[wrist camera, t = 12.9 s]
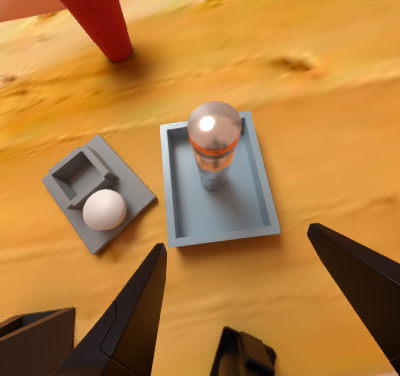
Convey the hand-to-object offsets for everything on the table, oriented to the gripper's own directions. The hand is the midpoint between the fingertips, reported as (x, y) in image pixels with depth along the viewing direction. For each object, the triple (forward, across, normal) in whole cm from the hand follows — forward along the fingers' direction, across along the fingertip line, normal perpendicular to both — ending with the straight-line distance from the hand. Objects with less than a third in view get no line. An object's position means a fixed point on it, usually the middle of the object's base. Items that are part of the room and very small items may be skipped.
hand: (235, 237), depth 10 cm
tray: (+15, 0, +4) cm, 16 cm away
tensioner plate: (+16, +19, +3) cm, 25 cm away
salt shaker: (+15, 0, +3) cm, 15 cm away
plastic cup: (+38, +16, -18) cm, 45 cm away
